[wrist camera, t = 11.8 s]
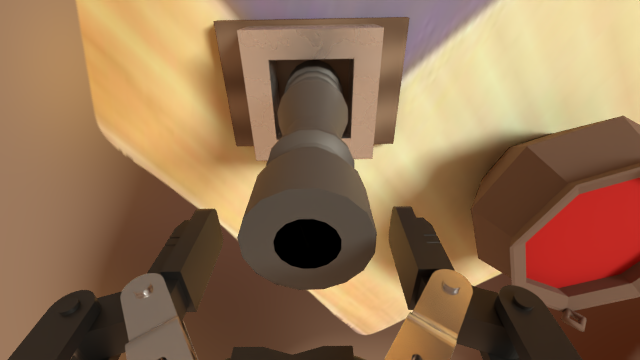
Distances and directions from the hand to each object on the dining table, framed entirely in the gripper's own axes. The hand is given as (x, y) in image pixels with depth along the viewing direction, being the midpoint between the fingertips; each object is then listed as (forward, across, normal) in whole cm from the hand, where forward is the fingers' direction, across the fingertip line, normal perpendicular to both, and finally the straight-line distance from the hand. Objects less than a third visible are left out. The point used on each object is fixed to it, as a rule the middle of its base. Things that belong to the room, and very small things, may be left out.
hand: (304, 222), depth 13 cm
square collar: (+23, 0, 0) cm, 23 cm away
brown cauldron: (+25, -31, +14) cm, 42 cm away
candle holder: (+24, 0, 0) cm, 24 cm away
